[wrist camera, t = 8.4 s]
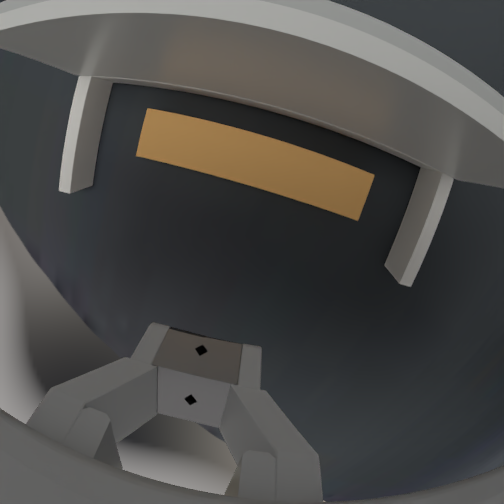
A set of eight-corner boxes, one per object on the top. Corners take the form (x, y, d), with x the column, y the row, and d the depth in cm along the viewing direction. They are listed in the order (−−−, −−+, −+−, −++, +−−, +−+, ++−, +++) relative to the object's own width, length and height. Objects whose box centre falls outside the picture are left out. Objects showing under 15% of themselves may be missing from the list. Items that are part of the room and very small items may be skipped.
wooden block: (362, 170, 19) (374, 175, 17) (348, 211, 20) (357, 220, 18) (160, 110, 18) (147, 108, 16) (149, 153, 19) (136, 155, 17)
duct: (434, 162, 18) (457, 167, 15) (394, 268, 21) (410, 287, 18) (104, 71, 16) (82, 64, 14) (82, 182, 19) (58, 190, 17)
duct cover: (457, 180, 15) (462, 159, 14) (570, 204, 6) (575, 172, 6) (75, 75, 13) (82, 54, 13) (-30, 39, 5) (-17, 9, 4)
